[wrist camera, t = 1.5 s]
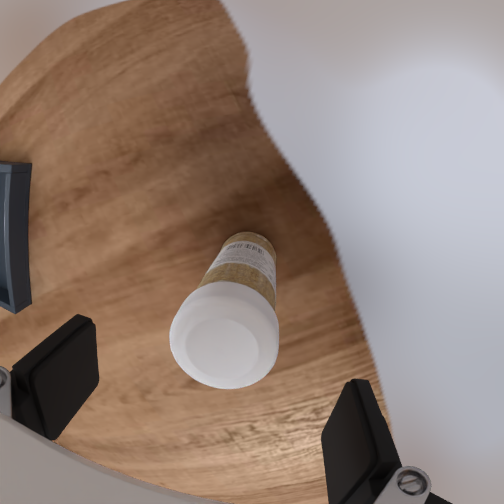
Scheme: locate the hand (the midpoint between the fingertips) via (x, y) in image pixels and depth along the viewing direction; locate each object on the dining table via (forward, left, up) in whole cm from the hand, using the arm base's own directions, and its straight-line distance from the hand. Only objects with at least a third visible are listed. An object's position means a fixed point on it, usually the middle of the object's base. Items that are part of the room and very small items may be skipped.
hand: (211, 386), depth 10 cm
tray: (+3, -30, -15) cm, 34 cm away
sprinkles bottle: (0, 0, -16) cm, 16 cm away
